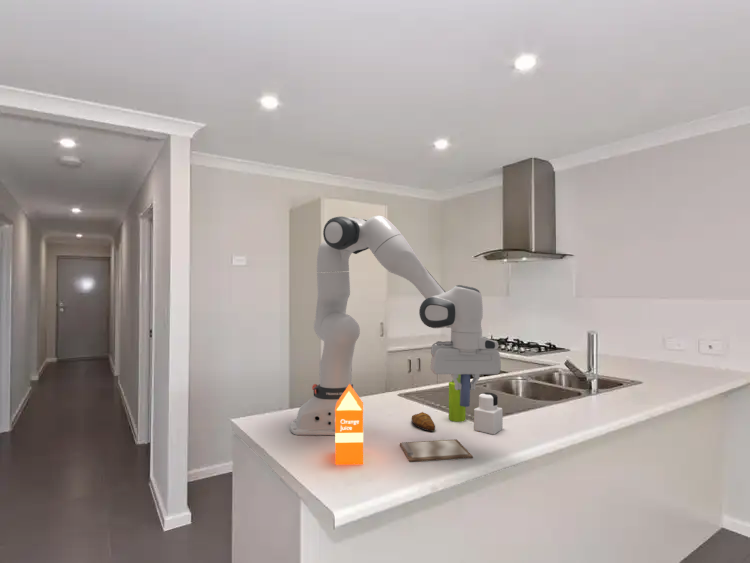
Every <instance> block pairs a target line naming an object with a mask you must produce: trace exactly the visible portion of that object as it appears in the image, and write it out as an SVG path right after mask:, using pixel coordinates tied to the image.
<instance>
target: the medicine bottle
mask: <svg viewBox="0 0 750 563" xmlns="http://www.w3.org/2000/svg"><path fill="white" fill-rule="evenodd" d="M498 403H499V400H498V395H497V394H495V393H494V392H482V393H479V395H478V406H477V407H476V408H474V409H473V431H476V432H481V433H486V434H488V435H489V434H490V435H492V436H493V435H495V434H497V433H498V432H500V431H502V430H503V427H504V426H503V423H504V422H503V408H502V407H498V405H499V404H498Z"/></svg>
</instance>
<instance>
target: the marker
mask: <svg viewBox="0 0 750 563" xmlns="http://www.w3.org/2000/svg"><path fill="white" fill-rule="evenodd" d="M471 376H472V374H461V379H460V384H462V387H461V388H462V389H461V390H460V406H463V407H466V408H468V407H470V406H471V390H470V383H471Z"/></svg>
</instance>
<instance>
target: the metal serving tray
mask: <svg viewBox="0 0 750 563" xmlns="http://www.w3.org/2000/svg"><path fill="white" fill-rule="evenodd" d="M399 446H400V448H401V449H402V451H403V452H404V454H405V456H406V458H407V459H408V461H409V463H414V462H415V463H416V462H432V461H446V460H447V461H449V460H460V459H473V457H474V456H473V454H472V453H471V452H470V451H469V450H468V449H467V448H466V447H465V446H464V445H463V444H462V443H461V442H460V441H459V440H458V439H456V438H455V439H440V440H424V441H410V442H409V441H405V442H403V441H402V442H399Z"/></svg>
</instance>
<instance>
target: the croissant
mask: <svg viewBox="0 0 750 563" xmlns="http://www.w3.org/2000/svg"><path fill="white" fill-rule="evenodd" d="M411 421H412V424H414V425H415V426H416V427H418V428H420V429H422V430H425V431H427V432H435V429H436V425H435V422H434V421H433V419H432V417H431V415H430V414H428V413H425V412H423V411H422V412H419V413H415V414H413V415H411Z"/></svg>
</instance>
